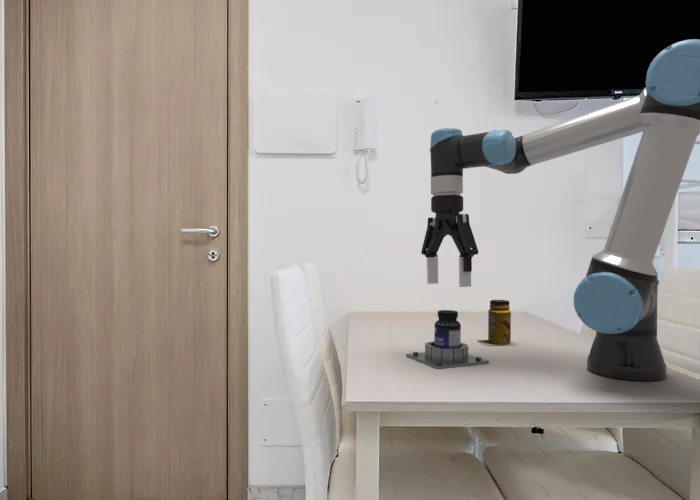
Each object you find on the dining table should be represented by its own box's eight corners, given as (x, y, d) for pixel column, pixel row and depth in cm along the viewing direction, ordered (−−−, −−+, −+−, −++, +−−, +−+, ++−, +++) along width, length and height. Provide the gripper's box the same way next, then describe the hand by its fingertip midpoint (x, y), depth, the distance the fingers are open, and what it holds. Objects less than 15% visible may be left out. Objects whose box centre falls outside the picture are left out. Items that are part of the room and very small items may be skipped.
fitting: (489, 363, 120) (489, 348, 120) (437, 369, 115) (437, 352, 115) (454, 352, 133) (454, 337, 133) (406, 356, 128) (406, 341, 128)
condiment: (516, 345, 143) (516, 301, 142) (486, 346, 141) (487, 302, 141) (504, 340, 150) (505, 298, 150) (476, 341, 149) (476, 299, 148)
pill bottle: (429, 356, 125) (429, 310, 125) (450, 354, 128) (450, 309, 127) (444, 361, 119) (444, 313, 119) (465, 359, 122) (466, 312, 122)
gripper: (493, 190, 113) (495, 287, 113) (432, 200, 136) (433, 281, 136) (465, 188, 111) (466, 288, 110) (407, 200, 134) (408, 282, 133)
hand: (448, 285), depth 123 cm, fingers open, 13 cm apart
